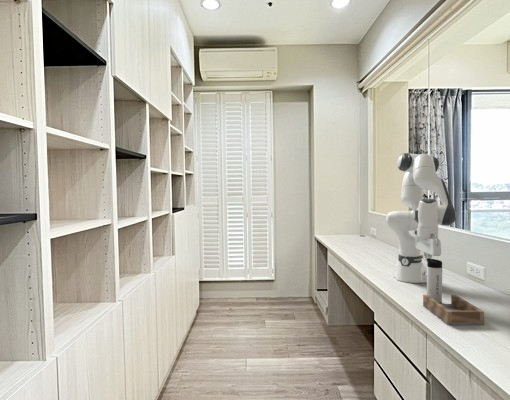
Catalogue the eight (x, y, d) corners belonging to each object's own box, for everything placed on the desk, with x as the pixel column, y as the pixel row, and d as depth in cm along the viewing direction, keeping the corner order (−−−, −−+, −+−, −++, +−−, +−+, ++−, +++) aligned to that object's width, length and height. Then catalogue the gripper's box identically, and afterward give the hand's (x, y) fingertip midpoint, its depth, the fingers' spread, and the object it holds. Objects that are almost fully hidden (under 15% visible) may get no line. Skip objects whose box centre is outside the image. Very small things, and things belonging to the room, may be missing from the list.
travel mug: (428, 299, 175) (428, 257, 174) (443, 302, 171) (443, 259, 170) (424, 302, 170) (424, 259, 169) (439, 305, 166) (440, 261, 165)
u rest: (423, 306, 166) (423, 294, 166) (454, 305, 166) (455, 294, 165) (447, 325, 144) (447, 311, 144) (484, 324, 144) (484, 311, 143)
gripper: (445, 236, 166) (444, 266, 166) (425, 230, 186) (425, 257, 187) (431, 236, 166) (430, 266, 167) (412, 230, 186) (412, 257, 187)
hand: (427, 261), depth 177 cm, fingers closed
